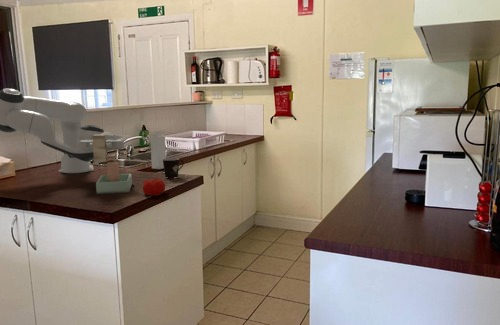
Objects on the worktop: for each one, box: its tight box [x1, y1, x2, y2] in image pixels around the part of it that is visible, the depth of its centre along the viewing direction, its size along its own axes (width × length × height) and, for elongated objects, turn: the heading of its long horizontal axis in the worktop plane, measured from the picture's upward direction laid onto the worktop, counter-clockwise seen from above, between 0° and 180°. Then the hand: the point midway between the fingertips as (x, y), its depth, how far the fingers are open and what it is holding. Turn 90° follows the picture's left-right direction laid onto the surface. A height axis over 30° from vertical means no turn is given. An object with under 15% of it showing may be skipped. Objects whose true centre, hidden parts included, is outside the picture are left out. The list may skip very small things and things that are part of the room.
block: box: [93, 134, 108, 163], centre depth 191 cm, size 5×5×12 cm
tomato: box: [142, 177, 166, 197], centre depth 182 cm, size 10×11×6 cm
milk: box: [150, 130, 167, 170], centre depth 243 cm, size 6×6×22 cm
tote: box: [95, 173, 133, 195], centre depth 193 cm, size 18×14×5 cm
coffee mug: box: [163, 157, 184, 178], centre depth 216 cm, size 12×9×10 cm
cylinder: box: [106, 161, 120, 182], centre depth 188 cm, size 5×5×12 cm
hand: (99, 146), depth 190 cm, fingers closed on block, 5 cm apart
